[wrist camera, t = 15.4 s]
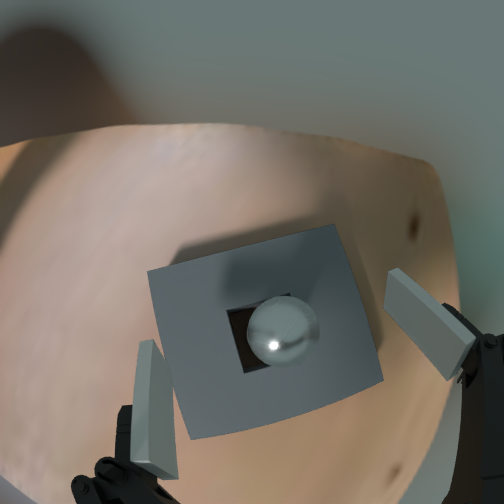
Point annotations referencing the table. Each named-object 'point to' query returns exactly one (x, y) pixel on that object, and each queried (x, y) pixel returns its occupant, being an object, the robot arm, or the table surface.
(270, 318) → the peg
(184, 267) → the hole block
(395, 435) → the table surface
